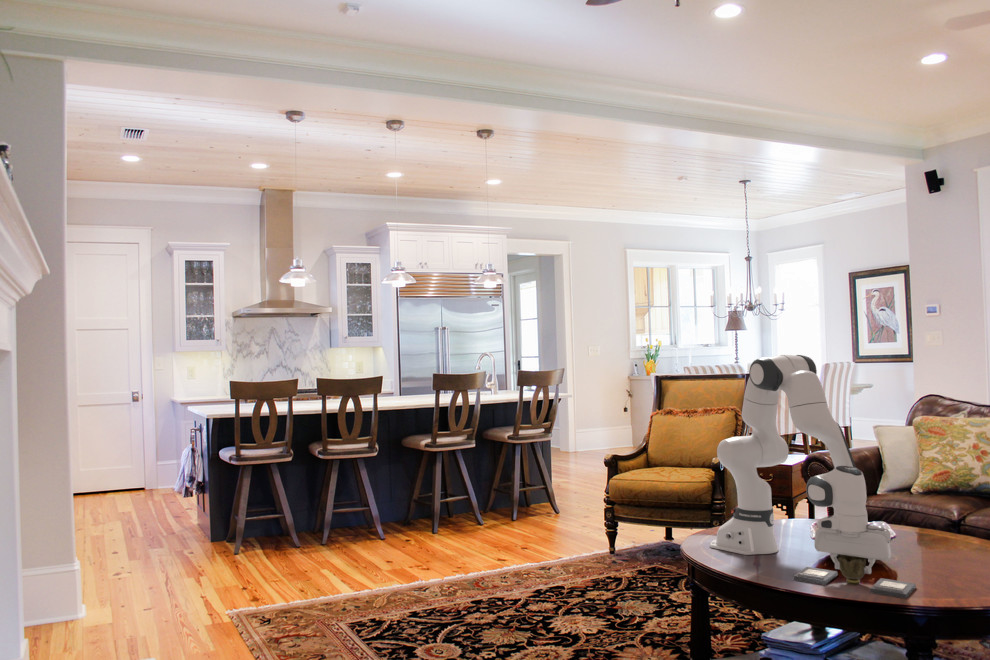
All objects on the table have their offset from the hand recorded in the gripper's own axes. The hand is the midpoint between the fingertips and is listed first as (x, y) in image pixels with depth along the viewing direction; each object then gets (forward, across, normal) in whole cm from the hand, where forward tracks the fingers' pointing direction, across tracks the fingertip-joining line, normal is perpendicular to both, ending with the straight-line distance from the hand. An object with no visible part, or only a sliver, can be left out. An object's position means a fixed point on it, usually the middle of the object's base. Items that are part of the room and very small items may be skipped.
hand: (852, 571), depth 220 cm
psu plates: (+4, 0, 0) cm, 4 cm away
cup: (+4, 0, 0) cm, 4 cm away
